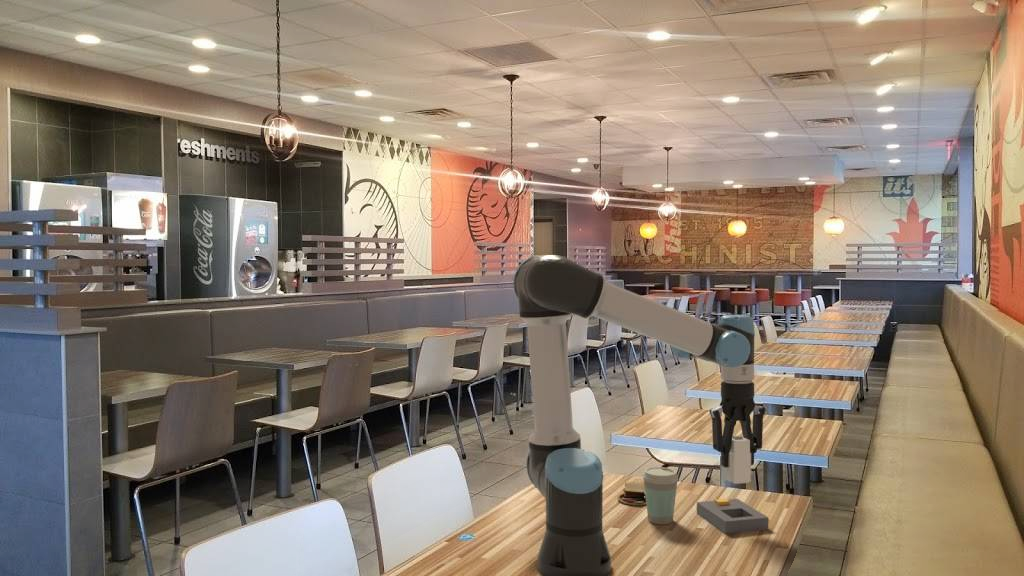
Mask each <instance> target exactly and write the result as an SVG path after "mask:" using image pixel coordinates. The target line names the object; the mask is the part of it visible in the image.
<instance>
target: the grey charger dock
mask: <svg viewBox="0 0 1024 576" xmlns="http://www.w3.org/2000/svg"><path fill="white" fill-rule="evenodd" d="M696 514H697V515H698V516H700V517H701V518H702V519H704V520H705V521H707V522H708V523H709V524H711V525H712V526H713V527H715V528H716V529H718V530H719V531H720V532H721V533H723V534H724V535H729V534H730V535H731V534H738V533H746V532H754V531H755V532H756V531H764V530H769V517H768V516H767V515H766V514H763V513H762V512H760V511H758V510H757V509H755V508H754V507H752V506H750V505H749V504H747V503H745V502H744V501H741V500H740V499H739V498H730V499H727V498H718V499H714V500H707V501H696Z"/></svg>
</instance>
